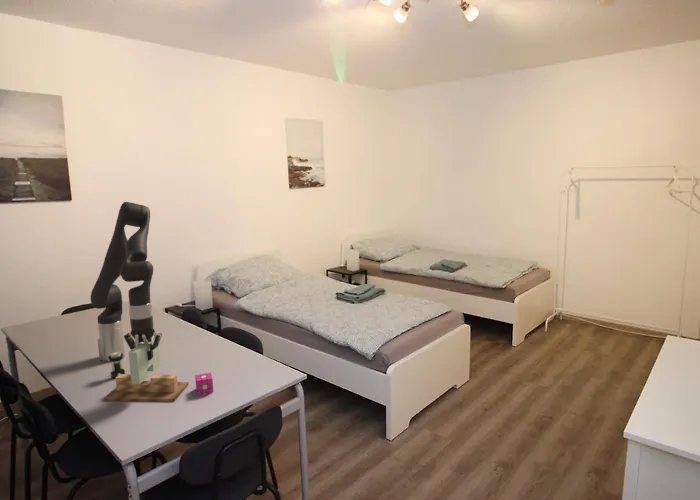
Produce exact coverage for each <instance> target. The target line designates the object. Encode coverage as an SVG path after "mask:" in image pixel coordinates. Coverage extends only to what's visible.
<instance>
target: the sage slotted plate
mask: <svg viewBox="0 0 700 500" xmlns="http://www.w3.org/2000/svg"><path fill="white" fill-rule="evenodd" d="M154 340H155V339H154V336H152V344H153V343H154ZM159 344H160V343H159ZM159 344H158V347H157V348H155V349H154V350H153V358H152V359H151V360H148V357H147V348H146V345H145V343H144V342H142V343H140V344H139V345H137V346H136V347H135V348H134V349H132V350H131V349H130V350H129V351H128V360H129V361H128V362H129V371H130V373H129V374H131V383H132V384H140V383H141V382H143V381H146V379H147V378H148V377H149V376H148V372H155V370H156V369H157V368H159V367H160V366H161V357H160V345H159Z"/></svg>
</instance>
